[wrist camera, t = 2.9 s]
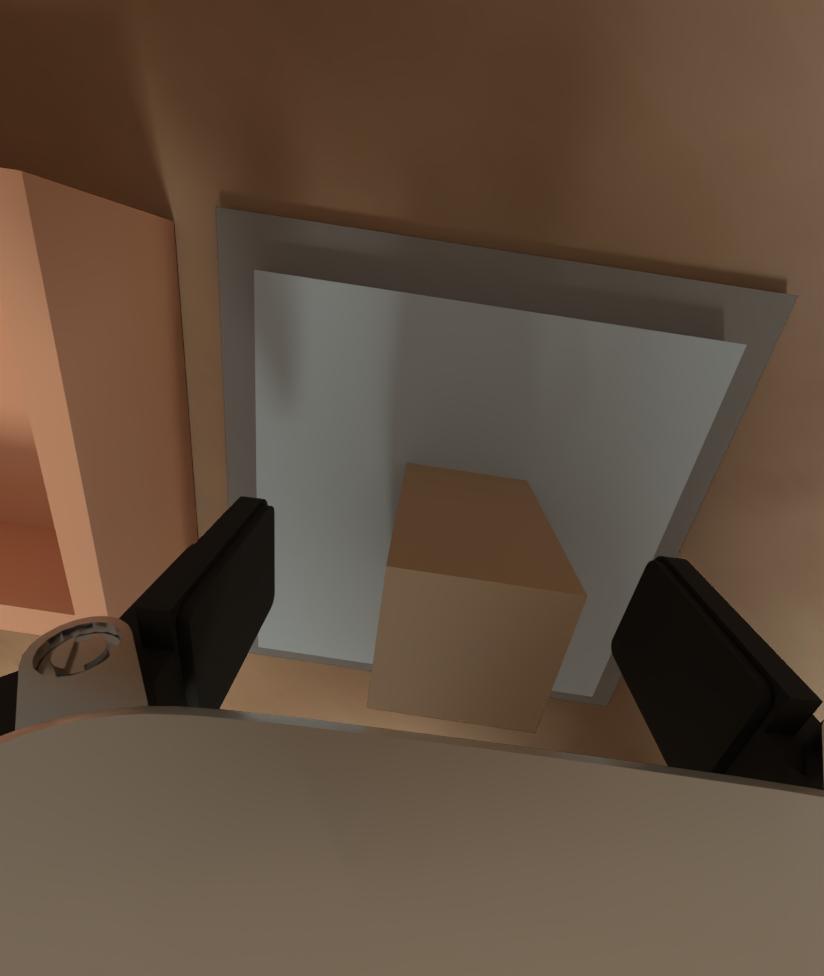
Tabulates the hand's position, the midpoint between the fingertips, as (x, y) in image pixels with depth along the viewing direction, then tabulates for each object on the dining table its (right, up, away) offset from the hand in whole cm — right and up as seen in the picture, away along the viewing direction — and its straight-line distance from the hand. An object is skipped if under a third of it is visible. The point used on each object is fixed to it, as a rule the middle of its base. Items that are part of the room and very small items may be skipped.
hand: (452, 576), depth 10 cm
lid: (+1, +1, +5) cm, 5 cm away
